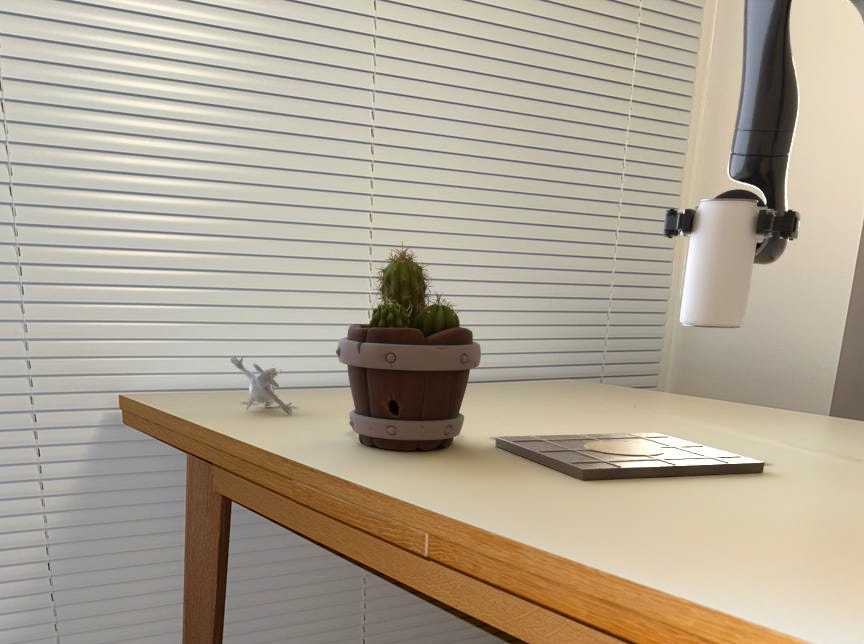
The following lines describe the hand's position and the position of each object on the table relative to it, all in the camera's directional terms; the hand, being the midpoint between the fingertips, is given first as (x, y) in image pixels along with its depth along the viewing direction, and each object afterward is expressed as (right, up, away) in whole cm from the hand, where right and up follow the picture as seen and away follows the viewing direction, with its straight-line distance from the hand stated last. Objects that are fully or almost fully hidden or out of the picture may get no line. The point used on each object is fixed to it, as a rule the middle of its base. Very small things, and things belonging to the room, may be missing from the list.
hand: (723, 221), depth 95 cm
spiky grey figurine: (-49, -13, +26) cm, 58 cm away
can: (+1, -9, +6) cm, 10 cm away
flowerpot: (-31, -21, +7) cm, 38 cm away
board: (-9, -23, +3) cm, 25 cm away
